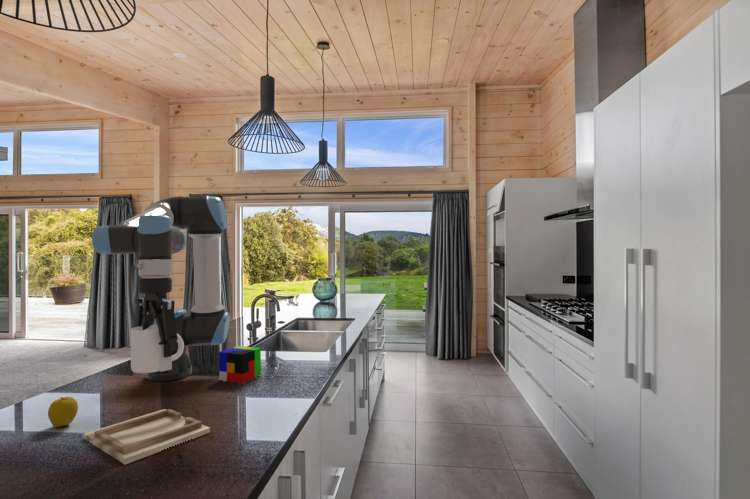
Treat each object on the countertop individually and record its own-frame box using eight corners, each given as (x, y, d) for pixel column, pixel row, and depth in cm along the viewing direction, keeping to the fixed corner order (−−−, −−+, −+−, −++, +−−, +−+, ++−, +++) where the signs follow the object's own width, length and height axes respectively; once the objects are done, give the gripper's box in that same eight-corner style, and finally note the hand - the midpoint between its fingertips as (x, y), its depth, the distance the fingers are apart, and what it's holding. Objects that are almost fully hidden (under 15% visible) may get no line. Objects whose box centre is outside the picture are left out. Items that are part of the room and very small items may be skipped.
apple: (55, 433, 110) (54, 401, 110) (43, 427, 113) (43, 396, 113) (83, 424, 115) (82, 393, 115) (71, 419, 118) (71, 389, 118)
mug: (187, 363, 114) (186, 323, 114) (180, 371, 106) (180, 328, 106) (136, 366, 112) (136, 325, 112) (126, 374, 104) (125, 331, 104)
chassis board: (83, 438, 106) (83, 428, 106) (164, 413, 122) (164, 404, 122) (125, 464, 93) (125, 453, 93) (210, 432, 109) (209, 422, 109)
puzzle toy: (219, 380, 152) (218, 352, 152) (238, 373, 162) (238, 345, 162) (242, 383, 149) (242, 354, 149) (260, 375, 158) (260, 348, 158)
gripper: (119, 276, 113) (119, 364, 113) (162, 278, 100) (163, 377, 100) (148, 275, 119) (149, 358, 119) (193, 277, 106) (193, 370, 106)
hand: (155, 367), depth 109 cm, fingers closed on mug, 9 cm apart
